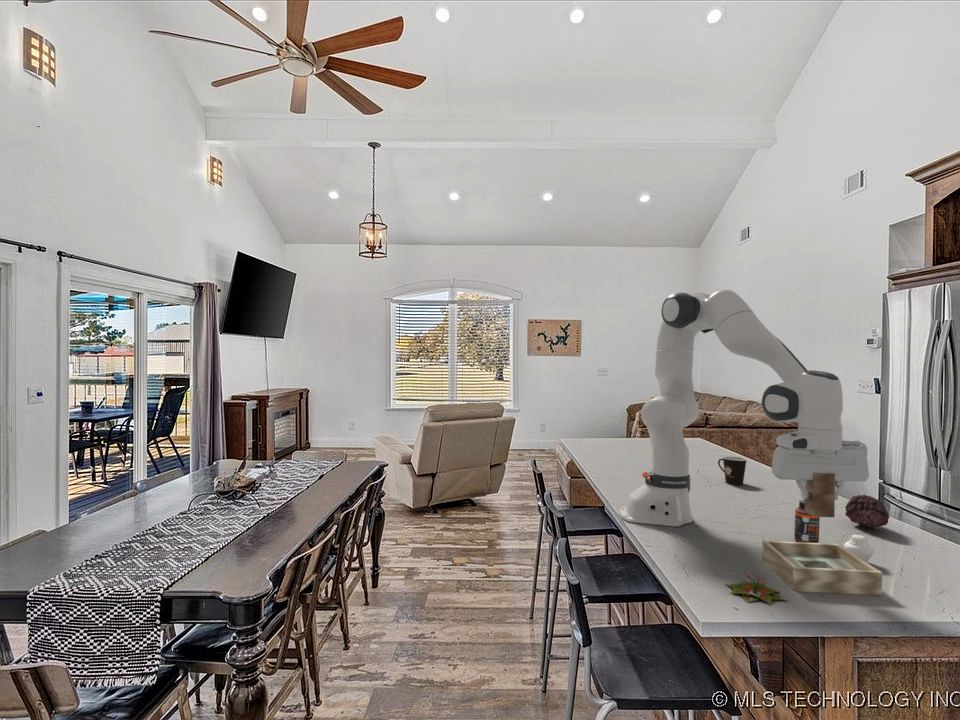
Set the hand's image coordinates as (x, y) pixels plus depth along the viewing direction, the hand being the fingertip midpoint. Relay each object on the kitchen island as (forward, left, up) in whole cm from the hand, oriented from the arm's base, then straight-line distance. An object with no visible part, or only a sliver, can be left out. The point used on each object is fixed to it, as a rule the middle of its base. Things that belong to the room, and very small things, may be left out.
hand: (819, 498), depth 130 cm
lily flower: (-18, -11, -19) cm, 29 cm away
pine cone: (+33, +40, -19) cm, 55 cm away
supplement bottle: (+9, +25, -19) cm, 32 cm away
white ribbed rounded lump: (+15, +11, -19) cm, 26 cm away
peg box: (0, 0, -18) cm, 18 cm away
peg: (0, 0, -4) cm, 4 cm away
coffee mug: (+13, +96, -19) cm, 99 cm away
